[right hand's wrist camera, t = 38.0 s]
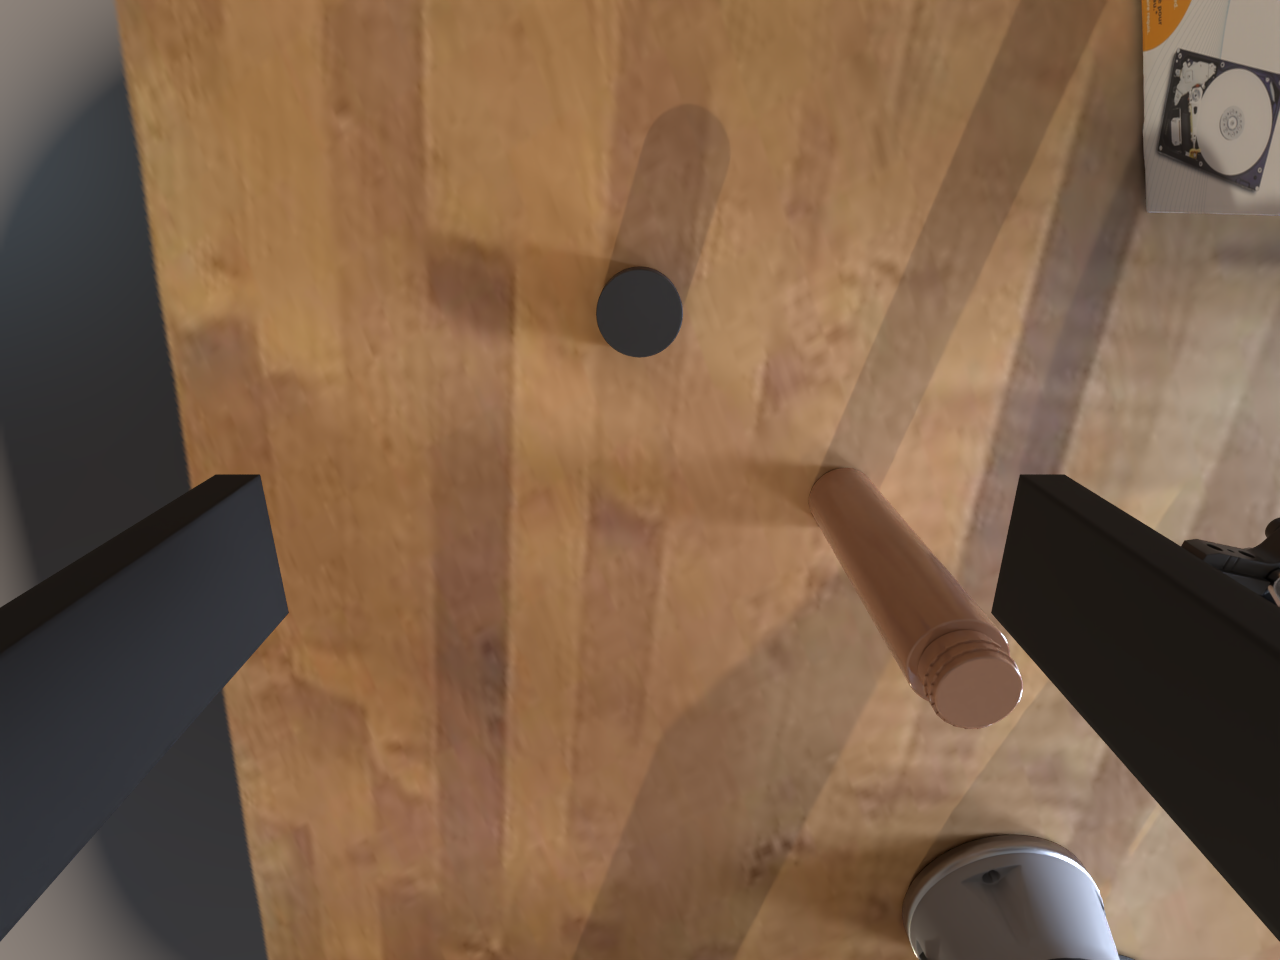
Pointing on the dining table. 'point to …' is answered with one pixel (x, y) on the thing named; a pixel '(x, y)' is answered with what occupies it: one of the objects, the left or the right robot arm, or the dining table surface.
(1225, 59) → the hard drive box
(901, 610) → the brown cylinder
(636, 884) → the dining table surface
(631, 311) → the lid
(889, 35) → the dining table surface
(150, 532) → the right robot arm
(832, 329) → the dining table surface
